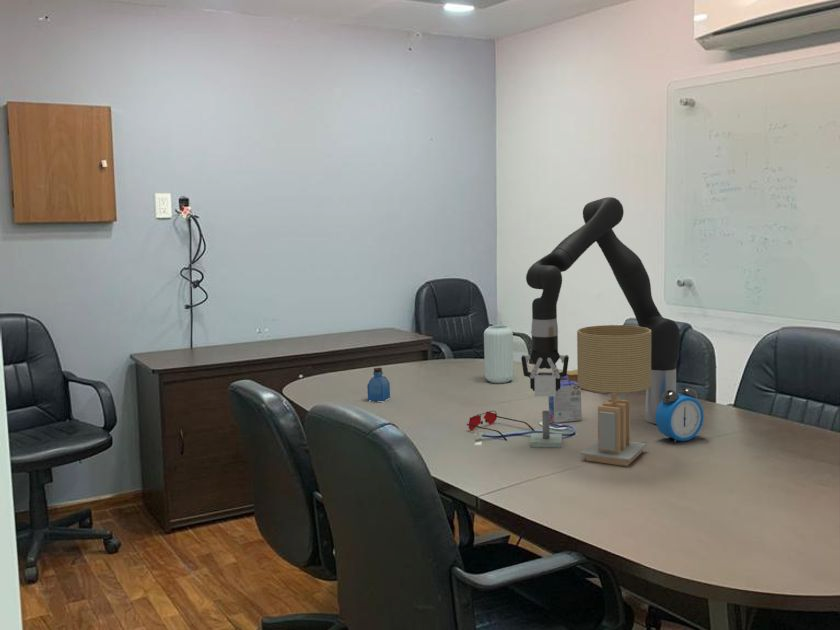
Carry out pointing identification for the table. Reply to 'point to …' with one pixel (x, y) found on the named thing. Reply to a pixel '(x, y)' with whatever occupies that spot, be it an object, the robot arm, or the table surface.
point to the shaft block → (546, 435)
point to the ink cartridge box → (566, 402)
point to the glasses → (490, 419)
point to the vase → (498, 354)
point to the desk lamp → (614, 384)
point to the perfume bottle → (378, 386)
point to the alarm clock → (679, 414)
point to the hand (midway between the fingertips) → (545, 390)
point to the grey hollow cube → (545, 384)
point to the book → (574, 377)
